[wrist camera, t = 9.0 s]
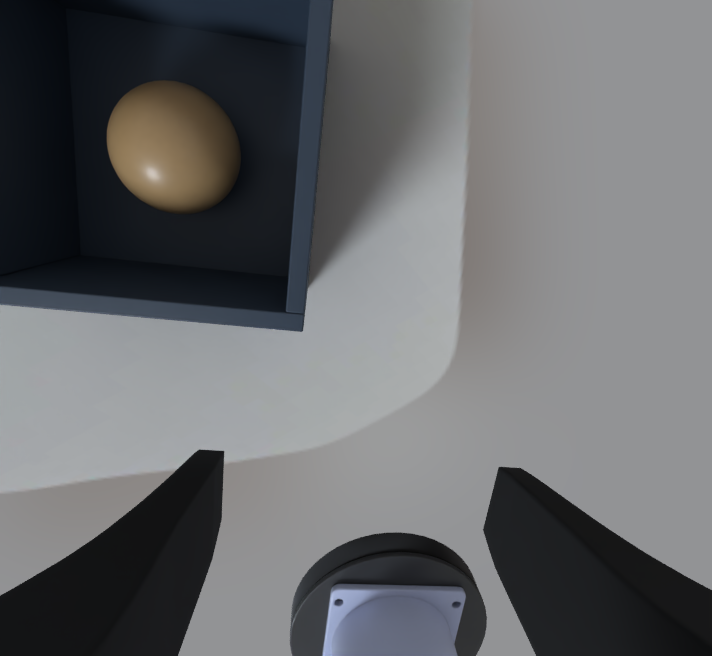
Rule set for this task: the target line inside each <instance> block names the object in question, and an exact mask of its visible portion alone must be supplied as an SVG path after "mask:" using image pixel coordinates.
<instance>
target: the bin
mask: <svg viewBox="0 0 712 656" xmlns="http://www.w3.org/2000/svg"><path fill="white" fill-rule="evenodd" d="M332 11H333V0H0V305H11V306H22V307H33V308H44V309H55V310H66V311H77V312H88V313H100V314H111V315H122V316H133V317H144V318H155V319H166V320H177V321H189V322H200V323H211V324H222V325H233V326H244V327H255V328H266V329H277V330H289V331H300V332H302V331H303V326H304V317H305V307H306V298H307V289H308V278H309V267H310V256H311V245H312V234H313V223H314V212H315V201H316V190H317V179H318V168H319V157H320V146H321V135H322V124H323V113H324V102H325V91H326V80H327V69H328V58H329V48H330V36H331V24H332ZM159 80H167V81H177V82H181V83H185V84H188V85H191V86H193V87H195V88H197V89H199V90H201V91H202V92H204V93H205V94H207V95H208V96H210V97H211V98H212V99H213V100H214V101H216V102H217V103H218V104H219V105H220V107H221V108H222V109H223V110H224V111H225V113H226V114H227V115H228V117H229V118H230V120H231V122H232V124H233V126H234V128H235V130H236V133H237V136H238V139H239V143H240V150H241V164H240V170H239V174H238V177H237V180H236V182H235V184H234V186H233V188H232V190H231V191H230V192H229V194H228V195H227V196H226V197H225V198H224V199H223V200H222V201H221V202H219V203H218V204H217V205H215V206H213V207H211V208H209V209H207V210H205V211H202V212H198V213H194V214H174V213H168V212H164V211H161V210H158V209H156V208H154V207H151V206H149V205H148V204H146V203H144V202H143V201H141V200H140V199H139V198H137V197H136V196H135V195H133V194H132V193H131V192H130V191H129V190H128V189H127V187H126V186H125V185H124V184H123V183H122V181H121V180H120V178H119V177H118V175H117V173H116V171H115V169H114V167H113V165H112V163H111V160H110V157H109V153H108V149H107V128H108V122H109V119H110V116H111V114H112V111H113V109H114V107H115V106H116V105H117V103H118V102H119V100H120V99H121V98H122V97H123V96H124V95H125V94H127V93H128V92H129V91H130V90H132V89H134V88H135V87H137V86H139V85H142V84H144V83H147V82H152V81H159Z"/></svg>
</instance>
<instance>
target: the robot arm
mask: <svg viewBox="0 0 712 656" xmlns="http://www.w3.org/2000/svg"><path fill="white" fill-rule="evenodd" d="M223 466H224V451H213V450H198V451H197V452H195V453H194V454H193V455H192V456H191V457H190V458H189V459H188V460H187V461H186V462H185V463H184V464H183V465H182V466H181V467H179V468H178V469H177V470H176V471H175V472H174V473H173V474H172V475H171V476H170V477H169V478H168V479H167V480H166V481H164V483H162V484H161V485H160V486H159V487H158V488H157V489H155V490H154V491H153V492H152V493H151V494H150V495H149V496H147V497H146V498H145V499H144V500H143V501H142V502H140V503H139V504H138V505H137V506H136V507H134V508H133V509H132V510H131V511H129V512H128V513H127V514H126V515H124V516H123V517H122V518H120V519H119V520H118V521H117V522H116V523H114V524H113V525H112V526H111V527H109V528H108V529H106V530H105V531H104V532H103V533H101V534H100V535H98V536H97V537H95V538H94V539H93V540H91V541H90V542H88V543H87V544H85V545H84V546H82V547H81V548H79V549H78V550H76V551H75V552H74V553H72V554H70V555H69V556H67V557H66V558H64V559H62V560H61V561H59V562H58V563H56V564H54V565H52V566H51V567H49V568H47V569H46V570H44V571H42V572H41V573H39V574H37V575H36V576H34V577H32V578H31V579H29V580H27V581H25V582H24V583H22V584H20V585H19V586H17V587H15V588H14V589H12V590H10V591H8V592H6V593H4V594H2V595H1V596H0V656H178V654H179V651H180V648H181V645H182V643H183V639H184V637H185V634H186V631H187V629H188V626H189V623H190V620H191V617H192V614H193V612H194V609H195V606H196V603H197V600H198V598H199V595H200V592H201V589H202V586H203V584H204V581H205V578H206V575H207V572H208V569H209V567H210V563H211V561H212V557H213V553H214V549H215V545H216V541H217V536H218V532H219V528H220V523H221V518H222V491H223ZM483 530H484V534H485V537H486V540H487V544H488V547H489V550H490V553H491V556H492V559H493V562H494V565H495V568H496V570H497V572H498V575H499V577H500V579H501V581H502V583H503V586H504V588H505V590H506V592H507V594H508V596H509V599H510V601H511V603H512V605H513V607H514V609H515V611H516V613H517V616H518V618H519V620H520V622H521V624H522V626H523V628H524V631H525V632H526V635H527V637H528V639H529V641H530V643H531V646H532V648H533V649H534V652H535V654H536V656H712V590H710V589H708V588H706V587H704V586H703V585H701V584H699V583H697V582H695V581H693V580H691V579H690V578H688V577H686V576H684V575H682V574H681V573H679V572H677V571H675V570H674V569H672V568H670V567H668V566H667V565H665V564H663V563H662V562H660V561H658V560H656V559H655V558H653V557H651V556H650V555H648V554H646V553H645V552H643V551H641V550H640V549H638V548H636V547H635V546H633V545H632V544H630V543H629V542H627V541H626V540H624V539H623V538H621V537H620V536H618V535H617V534H615V533H614V532H612V531H611V530H609V529H608V528H606V527H605V526H603V525H602V524H600V523H599V522H597V521H596V520H595V519H593V518H592V517H590V516H589V515H587V514H586V513H585V512H583V511H582V510H580V509H579V508H578V507H576V506H575V505H573V504H572V503H570V502H569V501H568V500H566V499H565V498H564V497H562V496H561V495H559V494H558V493H557V492H555V491H554V490H552V489H551V488H550V487H548V486H547V485H545V484H544V483H543V482H541V481H540V480H538V479H537V478H535V477H534V476H532V475H531V474H529V473H528V472H526V471H524V470H523V469H521V468H509V467H499V469H498V473H497V477H496V481H495V485H494V489H493V493H492V497H491V501H490V505H489V509H488V513H487V517H486V521H485V525H484V529H483ZM337 599H340V600H337ZM465 599H466V594H465V592H464V590H463V588H461V587H457V586H417V585H376V584H336V585H334V586H333V587H332V589H331V593H330V601H329V608H328V615H327V623H326V630H325V638H324V645H323V653H322V656H458V655H457V652H456V649H455V645H454V643H455V639H456V635H457V631H458V627H459V623H460V619H461V615H462V611H463V607H464V603H465Z"/></svg>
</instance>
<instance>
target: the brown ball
mask: <svg viewBox="0 0 712 656" xmlns="http://www.w3.org/2000/svg"><path fill="white" fill-rule="evenodd" d="M107 149H108V153H109V157H110V160H111V163H112V165H113V167H114V169H115V171H116V173H117V175H118V177H119V178H120V180H121V181H122V183H123V184H124V185H125V186H126V187H127V189H128V190H129V191H130V192H131V193H132V194H133V195H135V196H136V197H137V198H139V199H140V200H141V201H143V202H144V203H146V204H148V205H149V206H151V207H154V208H156V209H158V210H161V211H164V212H168V213H174V214H194V213H198V212H202V211H205V210H207V209H209V208H211V207H213V206H215V205H217V204H218V203H219V202H221V201H222V200H223V199H224V198H225V197H226V196H227V195H228V194H229V192H230V191H231V190H232V188H233V186H234V184H235V182H236V180H237V177H238V174H239V170H240V164H241V150H240V143H239V139H238V136H237V133H236V130H235V128H234V126H233V124H232V122H231V120H230V118H229V117H228V115H227V114H226V113H225V111H224V110H223V109H222V108H221V107H220V105H219V104H218V103H217V102H216V101H214V100H213V99H212V98H211V97H210V96H208V95H207V94H205V93H204V92H202V91H201V90H199V89H197V88H195V87H193V86H191V85H188V84H185V83H181V82H177V81H167V80H159V81H152V82H147V83H144V84H142V85H139V86H137V87H135V88H134V89H132V90H130V91H129V92H128V93H127V94H125V95H124V96H123V97H122V98H121V99H120V100H119V102H118V103H117V105H116V106H115V107H114V109H113V111H112V114H111V116H110V119H109V122H108V128H107Z"/></svg>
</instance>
